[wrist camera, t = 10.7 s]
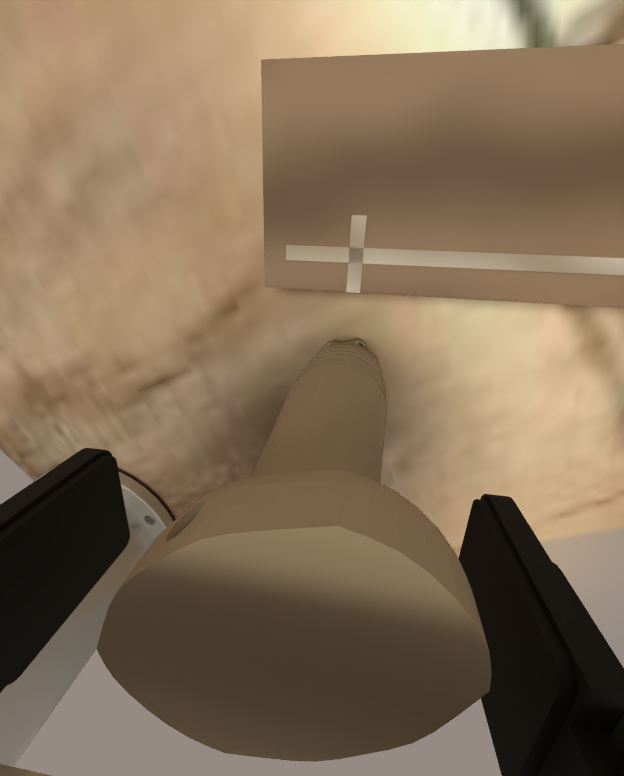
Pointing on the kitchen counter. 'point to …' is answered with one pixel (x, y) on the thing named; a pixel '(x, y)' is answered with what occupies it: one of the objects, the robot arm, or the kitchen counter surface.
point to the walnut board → (448, 174)
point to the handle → (303, 594)
